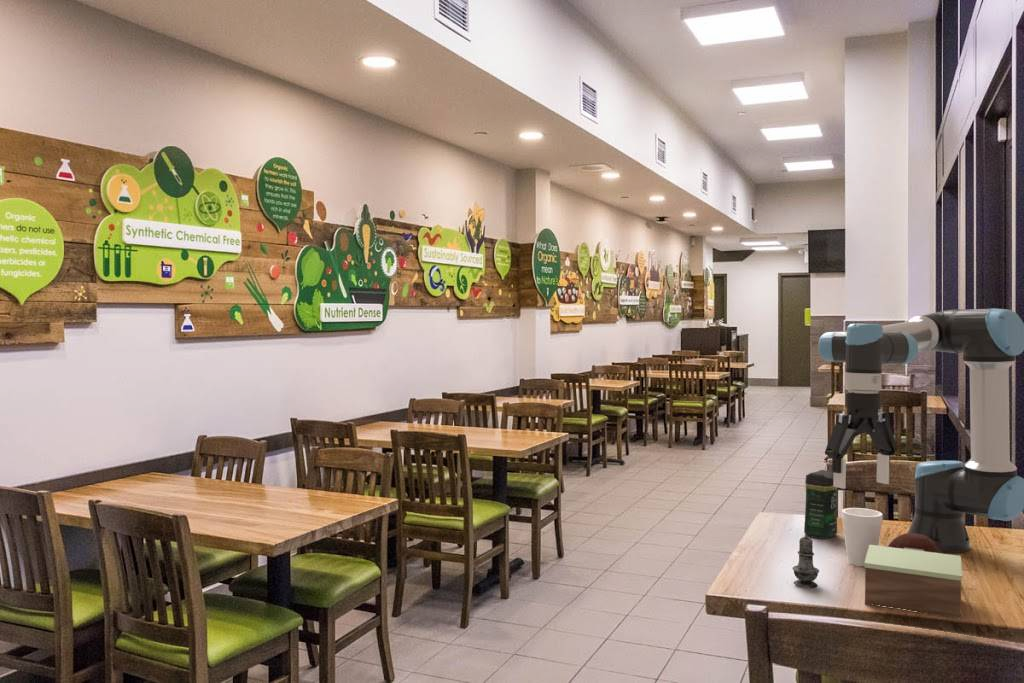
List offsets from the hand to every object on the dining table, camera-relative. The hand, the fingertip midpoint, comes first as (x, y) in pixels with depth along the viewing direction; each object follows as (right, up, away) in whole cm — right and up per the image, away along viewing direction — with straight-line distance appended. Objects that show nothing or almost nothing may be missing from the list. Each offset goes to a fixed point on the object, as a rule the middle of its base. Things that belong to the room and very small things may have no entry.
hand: (861, 485), depth 177 cm
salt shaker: (-11, -24, +5) cm, 27 cm away
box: (+9, -24, -6) cm, 27 cm away
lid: (+9, -17, -5) cm, 20 cm away
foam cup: (+10, -24, +22) cm, 34 cm away
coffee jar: (+10, -23, +48) cm, 54 cm away
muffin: (+18, -24, +11) cm, 32 cm away
